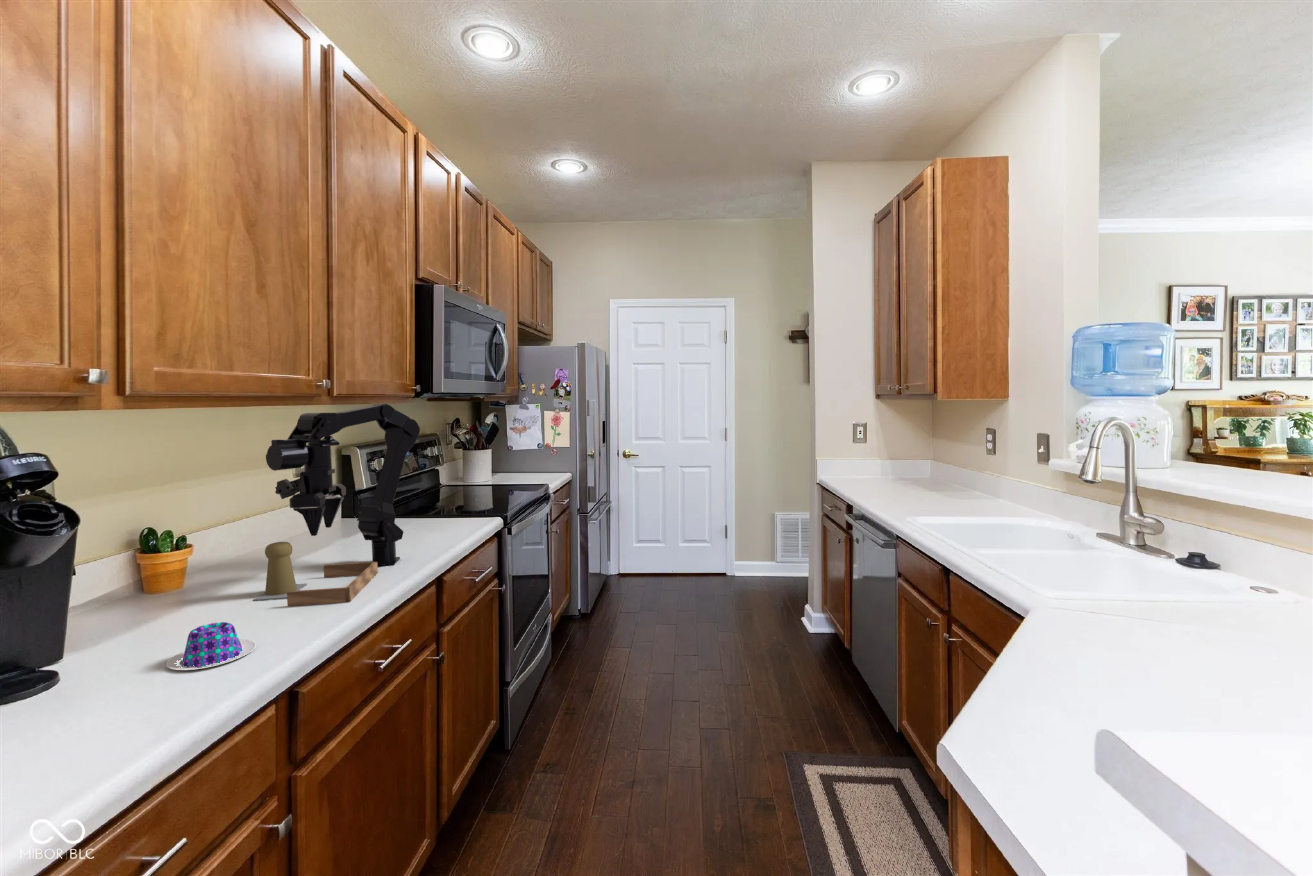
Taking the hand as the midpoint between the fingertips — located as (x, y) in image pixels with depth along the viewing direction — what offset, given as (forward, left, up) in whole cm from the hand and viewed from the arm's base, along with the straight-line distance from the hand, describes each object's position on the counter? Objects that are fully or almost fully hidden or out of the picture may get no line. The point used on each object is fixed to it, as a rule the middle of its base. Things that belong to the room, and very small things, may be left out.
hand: (321, 531), depth 139 cm
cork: (+7, -7, -12) cm, 15 cm away
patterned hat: (+42, -3, -12) cm, 44 cm away
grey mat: (+7, -7, -12) cm, 15 cm away
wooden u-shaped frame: (+7, +5, -12) cm, 15 cm away
